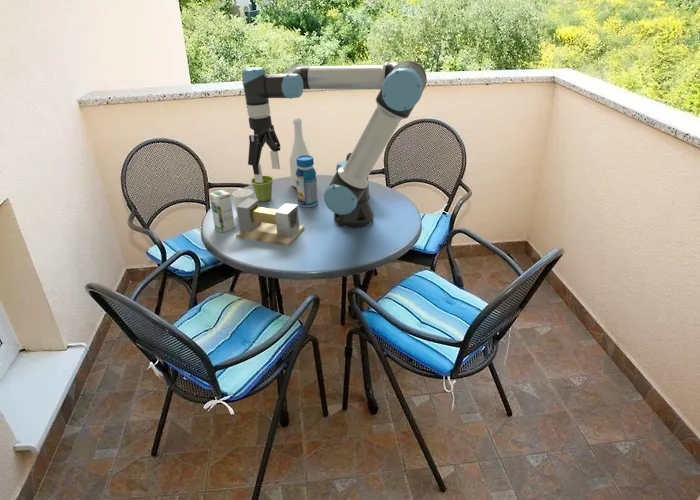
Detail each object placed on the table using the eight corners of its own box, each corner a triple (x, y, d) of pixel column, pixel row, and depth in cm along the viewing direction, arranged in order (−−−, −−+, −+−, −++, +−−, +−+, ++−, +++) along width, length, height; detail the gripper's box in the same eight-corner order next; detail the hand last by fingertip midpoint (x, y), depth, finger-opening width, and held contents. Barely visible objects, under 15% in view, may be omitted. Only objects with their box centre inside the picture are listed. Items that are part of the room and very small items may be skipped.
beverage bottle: (315, 208, 208) (312, 161, 198) (295, 207, 209) (291, 160, 199) (320, 200, 215) (317, 154, 205) (300, 199, 216) (297, 153, 206)
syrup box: (214, 228, 194) (208, 193, 187) (227, 223, 198) (222, 188, 191) (222, 233, 191) (216, 197, 183) (235, 228, 194) (230, 192, 187)
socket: (261, 223, 194) (258, 199, 190) (250, 232, 188) (247, 208, 183) (251, 221, 196) (247, 198, 191) (240, 230, 189) (236, 206, 185)
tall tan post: (284, 220, 188) (283, 210, 185) (279, 225, 184) (278, 215, 182) (251, 215, 192) (250, 205, 190) (245, 220, 189) (244, 209, 186)
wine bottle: (309, 189, 225) (304, 121, 210) (288, 188, 227) (282, 121, 212) (315, 181, 233) (311, 115, 218) (295, 180, 235) (290, 115, 220)
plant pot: (266, 205, 212) (263, 185, 207) (248, 200, 216) (245, 181, 212) (279, 196, 219) (277, 177, 214) (262, 192, 223) (260, 174, 219)
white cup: (251, 220, 199) (248, 197, 194) (232, 219, 201) (229, 196, 196) (258, 212, 206) (255, 189, 201) (240, 211, 207) (237, 188, 202)
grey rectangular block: (299, 228, 189) (297, 204, 185) (289, 238, 183) (287, 214, 178) (287, 227, 191) (285, 203, 186) (277, 236, 185) (274, 212, 180)
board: (304, 228, 192) (304, 225, 192) (287, 245, 181) (287, 242, 180) (255, 221, 199) (254, 218, 198) (236, 237, 188) (235, 234, 187)
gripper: (266, 106, 183) (273, 162, 194) (230, 125, 163) (241, 187, 173) (285, 106, 181) (291, 163, 191) (251, 126, 161) (261, 189, 171)
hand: (268, 175), depth 182 cm, fingers open, 13 cm apart
